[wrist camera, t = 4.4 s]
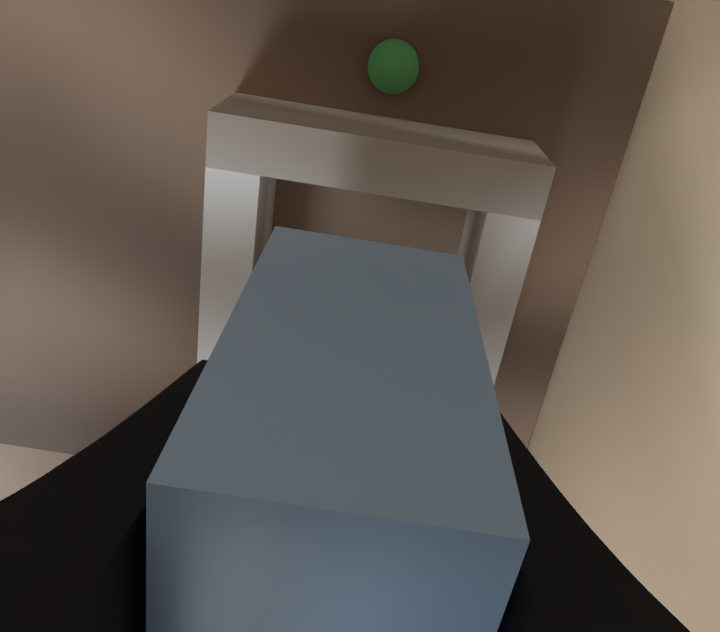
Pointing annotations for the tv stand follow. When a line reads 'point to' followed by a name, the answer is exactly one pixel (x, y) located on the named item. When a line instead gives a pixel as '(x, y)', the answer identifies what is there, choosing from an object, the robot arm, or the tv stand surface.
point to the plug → (338, 456)
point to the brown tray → (292, 174)
